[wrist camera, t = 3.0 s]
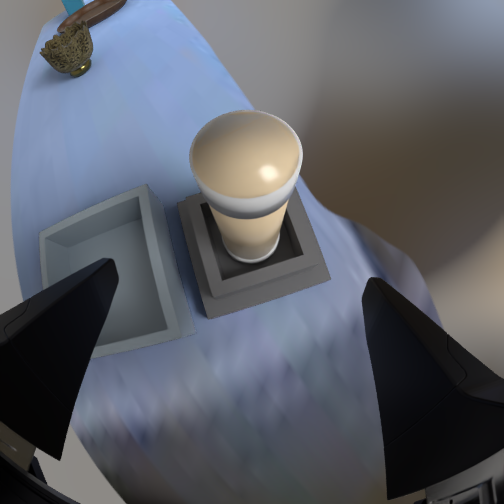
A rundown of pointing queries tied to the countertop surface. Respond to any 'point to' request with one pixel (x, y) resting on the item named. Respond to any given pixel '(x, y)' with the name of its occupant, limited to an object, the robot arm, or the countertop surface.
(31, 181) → the countertop surface
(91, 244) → the tray
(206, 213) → the tray
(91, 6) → the plant saucer
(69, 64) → the cup
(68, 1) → the data package
